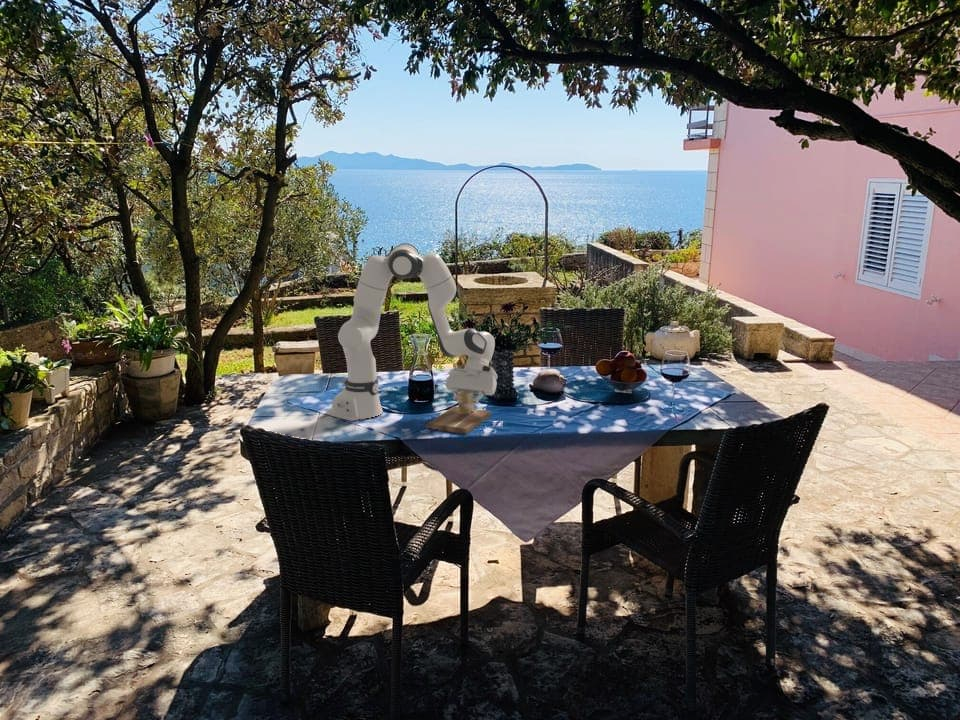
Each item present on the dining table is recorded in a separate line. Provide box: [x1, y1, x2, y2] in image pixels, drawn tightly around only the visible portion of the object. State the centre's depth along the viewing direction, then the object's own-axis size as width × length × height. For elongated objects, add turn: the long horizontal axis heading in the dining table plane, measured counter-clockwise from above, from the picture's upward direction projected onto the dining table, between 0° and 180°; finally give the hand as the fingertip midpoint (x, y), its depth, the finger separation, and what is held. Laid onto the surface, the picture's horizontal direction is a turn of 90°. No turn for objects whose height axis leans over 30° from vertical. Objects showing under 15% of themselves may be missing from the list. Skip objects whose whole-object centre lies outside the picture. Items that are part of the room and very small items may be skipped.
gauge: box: [457, 391, 475, 415], centre depth 263 cm, size 6×4×8 cm, turn 65°
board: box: [427, 405, 492, 435], centre depth 259 cm, size 16×21×2 cm
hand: (465, 401), depth 262 cm, fingers open, 7 cm apart
